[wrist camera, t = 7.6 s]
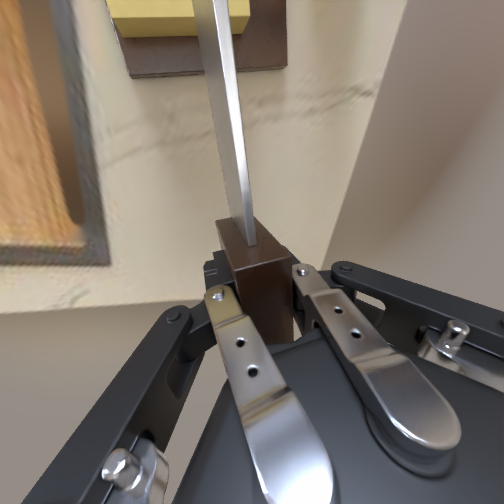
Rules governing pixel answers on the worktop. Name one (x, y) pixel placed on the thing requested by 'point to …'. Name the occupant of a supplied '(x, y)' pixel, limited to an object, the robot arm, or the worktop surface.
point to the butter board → (189, 54)
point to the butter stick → (153, 17)
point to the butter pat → (238, 15)
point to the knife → (242, 189)
